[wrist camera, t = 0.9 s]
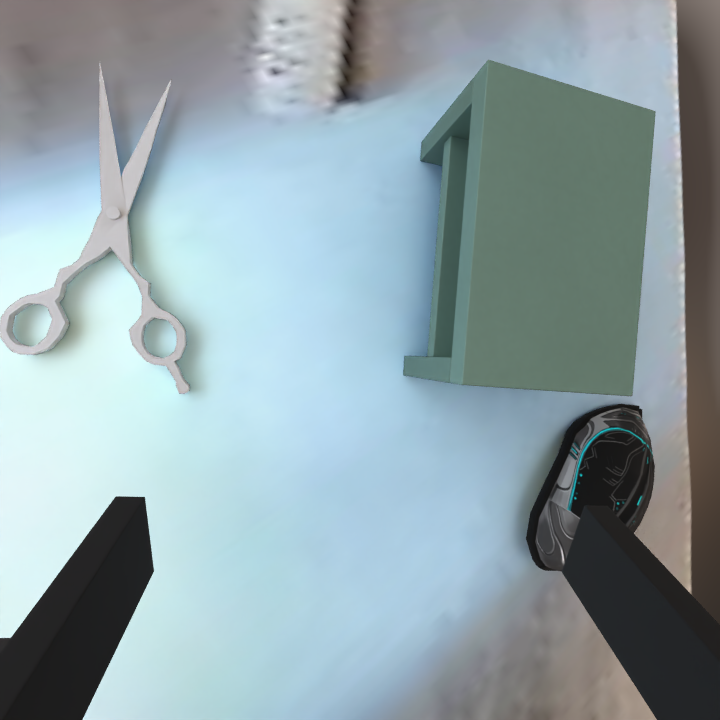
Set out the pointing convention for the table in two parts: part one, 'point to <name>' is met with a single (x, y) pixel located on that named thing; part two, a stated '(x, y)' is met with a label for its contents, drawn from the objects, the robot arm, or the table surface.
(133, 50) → the table surface
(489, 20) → the table surface
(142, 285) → the scissors
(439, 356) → the desk shelf
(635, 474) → the computer mouse
